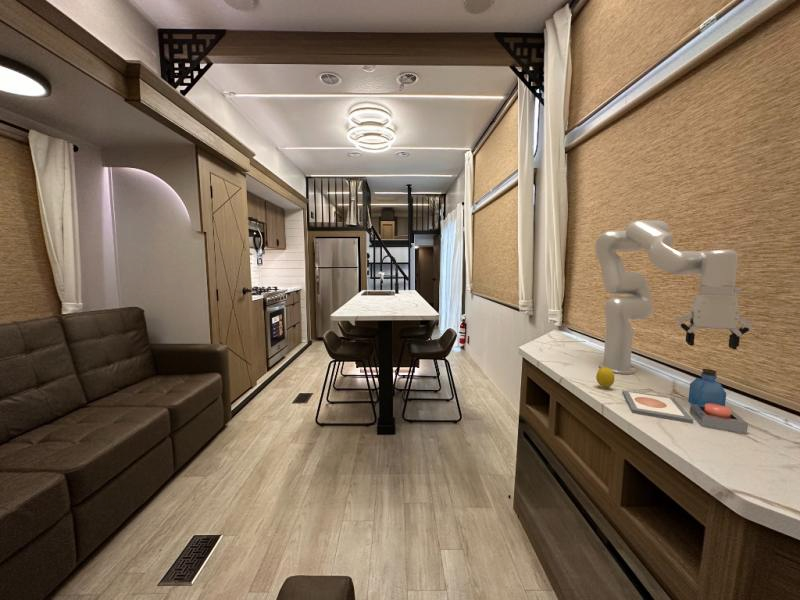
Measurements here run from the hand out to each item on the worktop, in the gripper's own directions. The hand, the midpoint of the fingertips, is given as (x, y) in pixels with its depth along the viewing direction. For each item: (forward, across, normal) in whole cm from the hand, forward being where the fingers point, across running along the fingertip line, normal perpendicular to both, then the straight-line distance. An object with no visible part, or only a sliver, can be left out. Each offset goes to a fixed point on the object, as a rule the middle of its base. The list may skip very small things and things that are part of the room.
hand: (710, 346), depth 96 cm
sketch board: (+20, +14, +7) cm, 25 cm away
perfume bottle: (+20, 0, 0) cm, 20 cm away
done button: (+18, +1, +12) cm, 21 cm away
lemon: (+20, +26, -4) cm, 33 cm away
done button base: (+20, +1, +12) cm, 23 cm away
